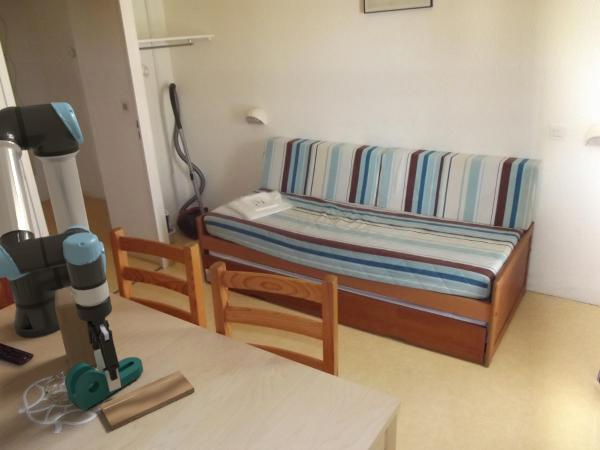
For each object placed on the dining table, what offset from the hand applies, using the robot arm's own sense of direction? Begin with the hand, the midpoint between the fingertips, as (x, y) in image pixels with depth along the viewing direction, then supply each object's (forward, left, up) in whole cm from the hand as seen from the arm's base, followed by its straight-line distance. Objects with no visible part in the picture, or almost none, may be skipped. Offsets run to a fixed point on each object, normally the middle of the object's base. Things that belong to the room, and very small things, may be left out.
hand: (109, 379), depth 127 cm
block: (-16, -1, -2) cm, 16 cm away
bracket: (0, 0, -2) cm, 2 cm away
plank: (+11, +5, -2) cm, 12 cm away
